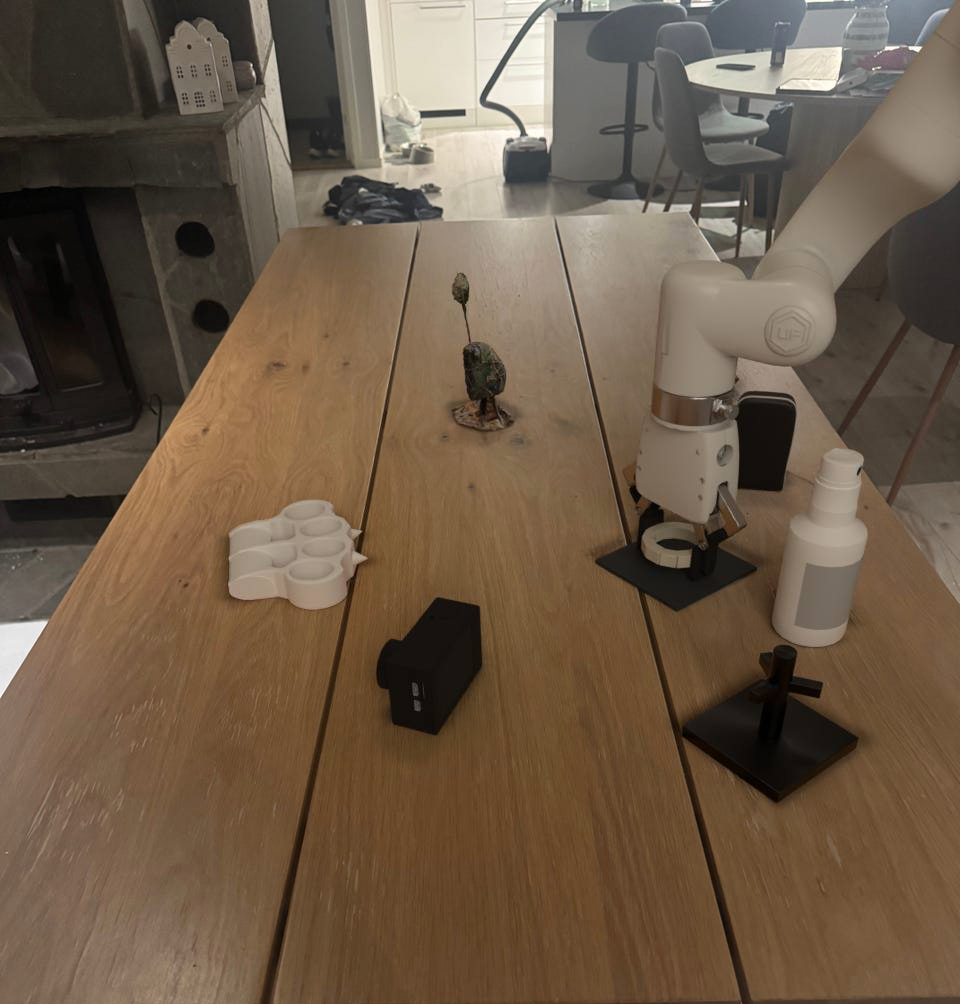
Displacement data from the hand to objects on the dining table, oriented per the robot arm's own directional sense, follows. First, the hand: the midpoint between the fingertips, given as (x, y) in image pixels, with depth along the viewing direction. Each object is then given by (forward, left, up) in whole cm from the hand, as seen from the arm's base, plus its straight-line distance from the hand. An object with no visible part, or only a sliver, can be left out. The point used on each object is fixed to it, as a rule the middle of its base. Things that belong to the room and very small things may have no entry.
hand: (674, 559), depth 101 cm
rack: (+14, +24, -1) cm, 28 cm away
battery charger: (-21, -7, -1) cm, 22 cm away
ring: (0, 0, +1) cm, 1 cm away
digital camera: (+32, +1, -1) cm, 32 cm away
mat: (0, 0, -1) cm, 1 cm away
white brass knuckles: (+31, -26, -1) cm, 40 cm away
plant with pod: (-7, -43, -1) cm, 43 cm away
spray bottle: (-2, +16, -1) cm, 16 cm away
